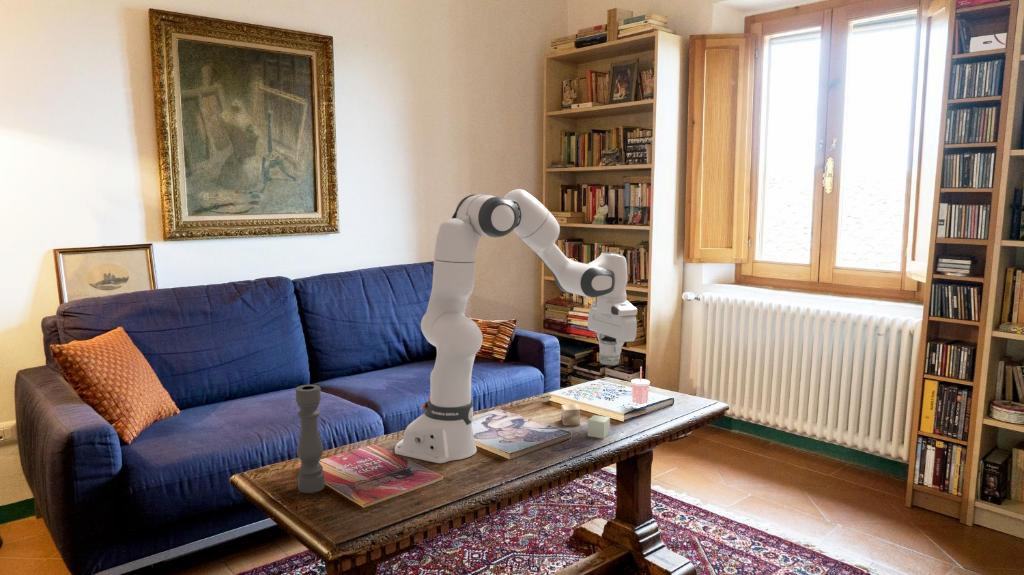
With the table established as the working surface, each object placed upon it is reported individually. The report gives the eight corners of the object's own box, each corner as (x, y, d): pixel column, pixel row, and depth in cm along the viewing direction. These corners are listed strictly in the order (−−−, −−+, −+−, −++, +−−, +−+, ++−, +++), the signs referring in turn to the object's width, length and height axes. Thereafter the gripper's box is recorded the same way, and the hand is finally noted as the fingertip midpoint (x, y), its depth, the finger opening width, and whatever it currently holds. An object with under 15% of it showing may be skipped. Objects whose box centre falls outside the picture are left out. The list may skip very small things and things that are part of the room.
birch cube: (563, 425, 221) (564, 409, 220) (561, 420, 225) (561, 404, 225) (579, 425, 221) (580, 409, 220) (577, 419, 226) (577, 404, 225)
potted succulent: (613, 366, 217) (614, 341, 216) (595, 363, 221) (596, 338, 219) (623, 362, 222) (624, 337, 221) (605, 359, 226) (606, 334, 224)
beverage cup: (634, 411, 235) (635, 369, 232) (627, 405, 240) (628, 364, 238) (651, 410, 236) (653, 368, 234) (644, 404, 242) (646, 363, 240)
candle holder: (304, 481, 178) (300, 383, 174) (328, 482, 178) (325, 384, 174) (294, 492, 172) (290, 391, 168) (319, 493, 172) (315, 392, 168)
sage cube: (587, 436, 212) (588, 419, 211) (593, 430, 216) (593, 414, 215) (603, 439, 210) (604, 422, 209) (609, 433, 214) (609, 417, 213)
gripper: (583, 300, 226) (582, 344, 228) (623, 311, 208) (622, 358, 210) (599, 299, 229) (598, 342, 231) (641, 310, 211) (639, 356, 213)
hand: (609, 350), depth 220 cm, fingers closed on potted succulent, 6 cm apart
